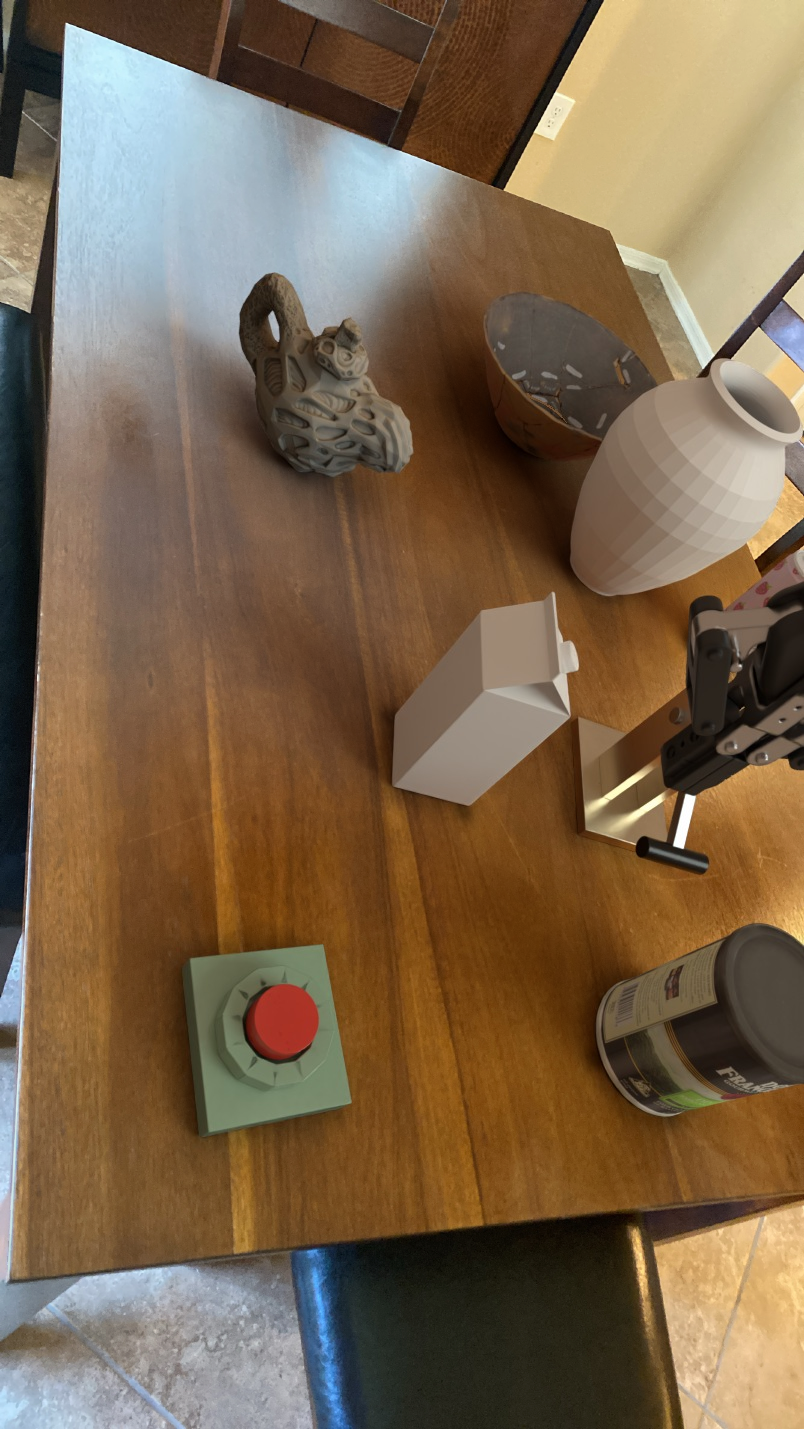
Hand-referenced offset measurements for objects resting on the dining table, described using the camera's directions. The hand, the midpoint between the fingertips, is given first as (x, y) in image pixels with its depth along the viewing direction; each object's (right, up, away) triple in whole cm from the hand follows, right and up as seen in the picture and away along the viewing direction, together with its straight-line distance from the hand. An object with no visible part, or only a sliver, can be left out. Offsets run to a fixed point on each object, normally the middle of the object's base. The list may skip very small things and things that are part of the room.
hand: (675, 775), depth 41 cm
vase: (+9, +19, +56) cm, 60 cm away
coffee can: (+6, -23, +27) cm, 36 cm away
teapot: (-24, +29, +45) cm, 59 cm away
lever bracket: (+7, -4, +40) cm, 40 cm away
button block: (-22, -18, +14) cm, 32 cm away
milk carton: (-11, -1, +32) cm, 34 cm away
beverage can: (+22, +10, +58) cm, 63 cm away
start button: (-20, -16, +12) cm, 28 cm away
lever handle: (+10, -3, +31) cm, 33 cm away
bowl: (+3, +38, +66) cm, 76 cm away
